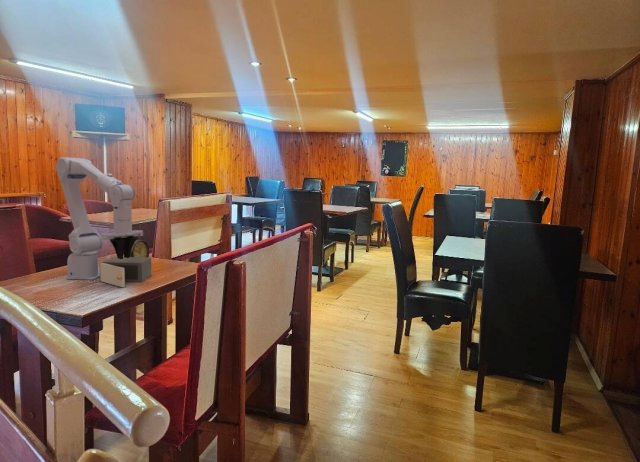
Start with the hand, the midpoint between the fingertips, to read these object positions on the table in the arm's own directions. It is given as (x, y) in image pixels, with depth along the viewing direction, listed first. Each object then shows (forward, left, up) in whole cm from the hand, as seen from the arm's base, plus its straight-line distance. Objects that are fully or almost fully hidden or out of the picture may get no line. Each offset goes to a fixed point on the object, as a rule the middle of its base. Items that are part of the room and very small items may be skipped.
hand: (123, 258), depth 148 cm
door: (-4, -1, -9) cm, 10 cm away
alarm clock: (-4, +25, -10) cm, 27 cm away
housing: (-2, +9, -9) cm, 13 cm away
